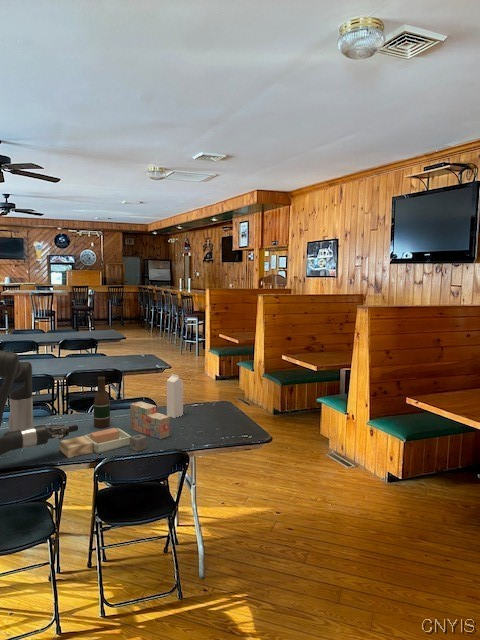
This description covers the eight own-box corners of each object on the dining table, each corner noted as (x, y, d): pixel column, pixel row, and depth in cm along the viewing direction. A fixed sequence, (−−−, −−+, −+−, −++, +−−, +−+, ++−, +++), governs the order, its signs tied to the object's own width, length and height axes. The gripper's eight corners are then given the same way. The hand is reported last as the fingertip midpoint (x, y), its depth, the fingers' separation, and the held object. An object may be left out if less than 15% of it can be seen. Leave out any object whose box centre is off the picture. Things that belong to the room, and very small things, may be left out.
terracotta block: (94, 436, 193) (119, 431, 200) (90, 433, 197) (114, 427, 204) (94, 447, 193) (119, 442, 200) (90, 444, 197) (114, 438, 204)
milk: (174, 418, 235) (174, 376, 233) (166, 415, 240) (166, 374, 237) (183, 415, 240) (183, 374, 237) (175, 413, 244) (175, 372, 241)
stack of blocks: (169, 436, 210) (169, 410, 209) (159, 439, 206) (159, 413, 204) (141, 425, 224) (140, 400, 223) (130, 428, 220) (130, 403, 218)
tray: (96, 453, 189) (96, 445, 189) (83, 443, 200) (83, 435, 200) (132, 444, 199) (132, 436, 199) (118, 435, 210) (118, 427, 210)
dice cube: (139, 445, 199) (139, 434, 198) (146, 448, 196) (146, 437, 195) (129, 448, 195) (129, 437, 195) (137, 451, 192) (136, 440, 191)
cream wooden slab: (68, 458, 184) (68, 448, 184) (60, 450, 192) (60, 440, 192) (92, 452, 190) (92, 442, 190) (84, 444, 198) (83, 435, 198)
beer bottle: (105, 429, 218) (104, 379, 215) (90, 427, 220) (89, 378, 217) (113, 423, 226) (112, 375, 223) (98, 422, 227) (97, 374, 225)
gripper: (37, 431, 174) (83, 422, 185) (28, 422, 184) (71, 414, 195) (38, 451, 175) (83, 441, 186) (28, 440, 185) (71, 431, 196)
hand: (77, 427), depth 191 cm, fingers closed
